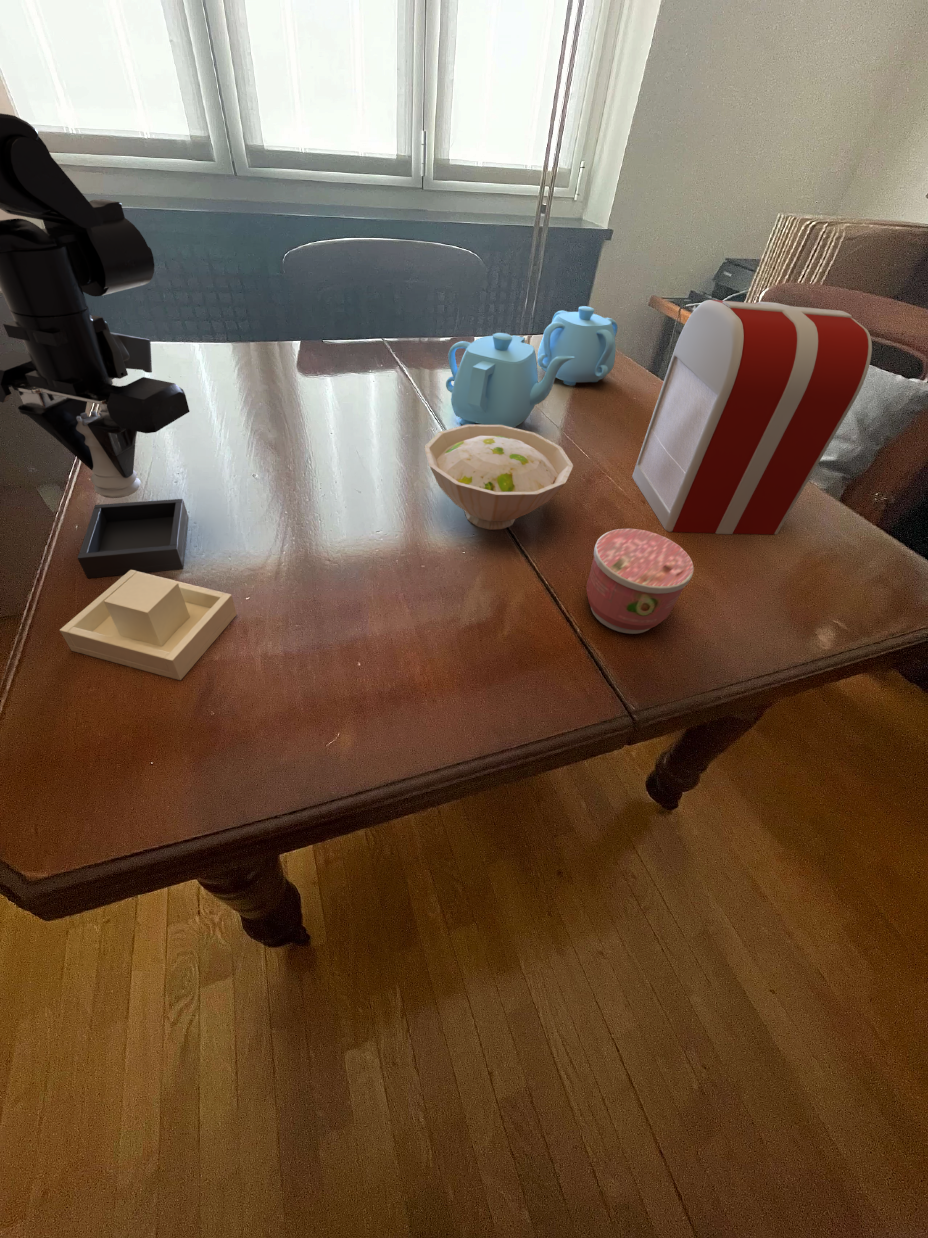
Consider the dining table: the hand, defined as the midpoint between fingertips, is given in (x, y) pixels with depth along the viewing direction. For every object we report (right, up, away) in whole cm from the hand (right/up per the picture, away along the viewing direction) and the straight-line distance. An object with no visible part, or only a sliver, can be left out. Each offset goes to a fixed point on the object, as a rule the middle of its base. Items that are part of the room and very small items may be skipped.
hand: (112, 472), depth 57 cm
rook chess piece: (0, -2, +2) cm, 2 cm away
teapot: (+44, +20, +42) cm, 64 cm away
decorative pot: (+61, +38, +63) cm, 95 cm away
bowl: (+41, -1, +19) cm, 45 cm away
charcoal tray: (-1, -7, +7) cm, 10 cm away
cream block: (+6, -16, -3) cm, 18 cm away
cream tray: (+6, -17, -3) cm, 18 cm away
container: (+56, -15, +6) cm, 58 cm away
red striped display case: (+74, +2, +27) cm, 78 cm away
